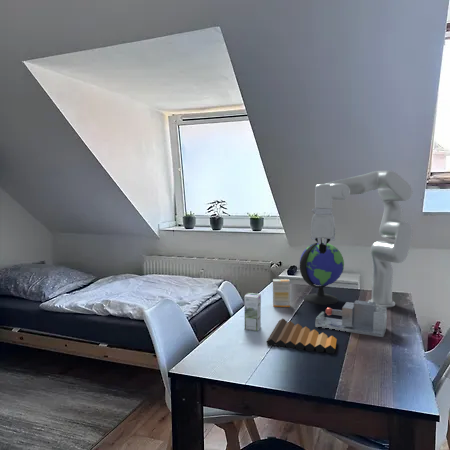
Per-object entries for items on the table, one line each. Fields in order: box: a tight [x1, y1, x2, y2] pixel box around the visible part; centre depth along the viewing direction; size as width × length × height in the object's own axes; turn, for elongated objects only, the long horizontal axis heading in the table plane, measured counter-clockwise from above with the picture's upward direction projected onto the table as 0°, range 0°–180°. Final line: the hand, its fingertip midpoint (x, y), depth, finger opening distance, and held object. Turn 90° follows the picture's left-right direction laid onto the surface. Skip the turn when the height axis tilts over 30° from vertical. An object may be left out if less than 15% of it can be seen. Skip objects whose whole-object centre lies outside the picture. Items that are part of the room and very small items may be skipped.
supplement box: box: [272, 278, 291, 308], centre depth 208 cm, size 8×5×13 cm, turn 84°
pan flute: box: [266, 318, 338, 354], centre depth 166 cm, size 25×3×25 cm
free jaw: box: [324, 301, 354, 327], centre depth 178 cm, size 9×12×8 cm
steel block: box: [353, 299, 376, 330], centre depth 174 cm, size 5×8×10 cm, turn 63°
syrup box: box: [243, 292, 262, 332], centre depth 176 cm, size 6×6×14 cm
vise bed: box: [314, 306, 388, 338], centre depth 176 cm, size 11×27×9 cm, turn 63°
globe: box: [299, 241, 345, 306], centre depth 217 cm, size 22×22×30 cm
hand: (322, 253), depth 189 cm, fingers closed
